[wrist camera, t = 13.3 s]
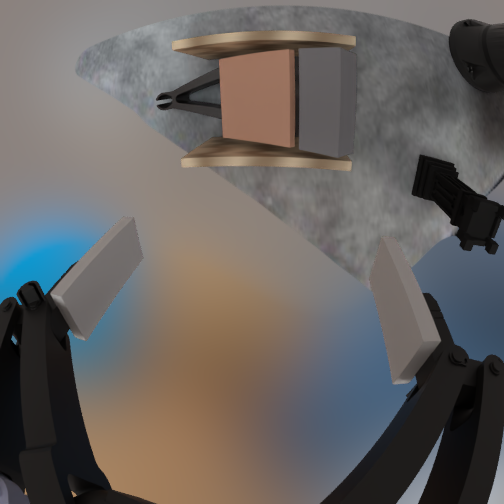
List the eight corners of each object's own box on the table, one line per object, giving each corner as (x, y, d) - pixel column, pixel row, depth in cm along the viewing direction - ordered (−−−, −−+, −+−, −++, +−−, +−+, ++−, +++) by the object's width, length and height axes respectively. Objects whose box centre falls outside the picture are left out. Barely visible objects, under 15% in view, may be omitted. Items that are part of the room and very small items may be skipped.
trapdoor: (356, 54, 22) (340, 47, 20) (353, 153, 29) (337, 157, 26) (240, 60, 33) (219, 59, 31) (242, 133, 40) (223, 137, 37)
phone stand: (235, 67, 37) (168, 77, 39) (227, 64, 32) (153, 77, 34) (239, 116, 42) (173, 123, 44) (231, 121, 37) (159, 129, 39)
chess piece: (443, 200, 44) (495, 257, 28) (411, 194, 45) (460, 252, 28) (452, 163, 40) (514, 208, 23) (419, 154, 40) (479, 197, 24)
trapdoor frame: (335, 52, 33) (355, 36, 21) (333, 146, 43) (350, 171, 30) (207, 53, 36) (171, 41, 24) (212, 143, 46) (181, 167, 33)
